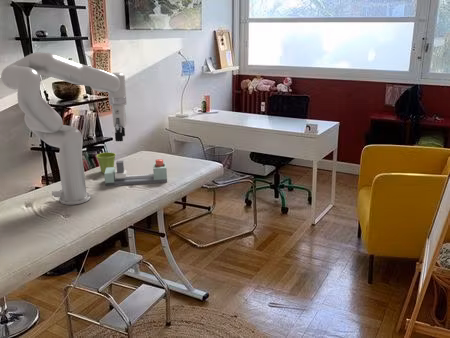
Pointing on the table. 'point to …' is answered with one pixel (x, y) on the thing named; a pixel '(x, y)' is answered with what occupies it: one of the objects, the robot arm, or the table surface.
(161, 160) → the button
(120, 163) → the carriage
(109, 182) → the rail track
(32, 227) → the table surface
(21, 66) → the robot arm
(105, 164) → the plant pot
